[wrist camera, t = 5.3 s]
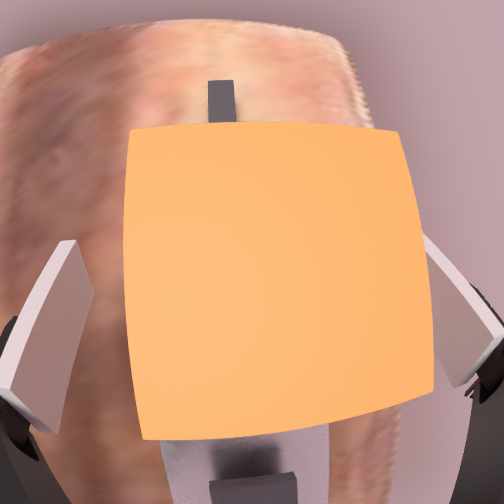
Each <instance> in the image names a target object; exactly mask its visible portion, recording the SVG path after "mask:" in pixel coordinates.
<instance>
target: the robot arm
mask: <svg viewBox="0 0 504 504" xmlns="http://www.w3.org/2000/svg"><path fill="white" fill-rule="evenodd" d="M422 234H423V240H424V246H425V252H426V259H427V267H428V275H429V284H430V294H431V305H432V320H433V344H434V353H435V355H436V357H437V359H438V361H439V362H440V364H441V366H442V367H443V369H444V371H445V373H446V375H447V376H448V378H449V380H450V382H451V384H452V386H453V388H456V387H458V386H461V385H463V384H465V383H467V382H468V381H469V380H470V379H471V378H472V377H473V375H474V374H475V373H477V375H478V377H479V378H478V379H477V380H476V381H475V382H474V383H473V384H472V385H471V387H470V388H469V389H468V390H467V391H466V393H465V395H464V396H466V397H467V395H469V394H470V393H471V391H472V390H474V393H473V394H472V395H471V396H470V398H472V399H473V403H472V410H471V417H470V423H469V429H468V434H467V440H466V445H465V449H464V453H463V458H462V462H461V466H460V470H459V473H458V477H457V481H456V484H455V487H454V491H453V494H452V497H451V500H450V503H449V504H504V322H503V321H502V320H501V318H500V317H499V316H498V314H497V313H496V312H495V310H494V309H493V308H492V307H490V304H489V303H488V302H487V300H485V298H484V297H483V295H482V294H481V293H480V292H479V291H478V289H477V288H475V287H474V286H473V285H471V284H470V283H469V282H467V280H466V279H465V278H464V277H463V276H462V275H461V273H460V272H459V271H458V270H457V269H456V268H455V267H454V266H453V264H452V263H451V262H450V261H449V260H448V259H447V258H446V257H445V256H444V254H442V252H441V251H440V250H439V249H438V248H437V247H436V246H435V245H434V244H433V243H432V242H431V241H430V240H429V239H428V237H427V236H426V235H425V234H424V233H423V232H422ZM94 295H95V292H94V289H93V287H92V284H91V281H90V279H89V276H88V273H87V270H86V267H85V264H84V262H83V259H82V256H81V252H80V249H79V246H78V243H77V240H68V241H60V243H59V244H58V246H57V248H56V249H55V251H54V252H53V254H52V256H51V257H50V259H49V261H48V262H47V264H46V266H45V268H44V269H43V271H42V273H41V275H40V276H39V278H38V280H37V282H36V284H35V285H34V287H33V289H32V291H31V293H30V295H29V297H28V299H27V301H26V303H25V305H24V307H23V309H22V311H21V313H20V315H19V316H14V317H13V318H12V319H11V320H10V321H9V323H8V324H7V325H6V326H5V328H4V330H3V332H2V334H1V336H0V504H71V502H70V501H69V499H68V498H67V496H66V495H65V493H64V492H63V490H62V488H61V487H60V485H59V484H58V482H57V480H56V478H55V477H54V475H53V473H52V472H51V470H50V468H49V466H48V464H47V463H46V461H45V459H44V457H43V455H42V453H41V451H40V449H39V447H38V445H37V443H36V441H35V439H34V437H33V435H32V434H31V433H30V431H29V427H30V424H31V425H33V426H34V427H35V428H36V429H37V430H39V431H40V432H45V433H50V434H55V435H58V433H59V427H60V422H61V416H62V411H63V406H64V401H65V397H66V392H67V388H68V384H69V379H70V375H71V371H72V367H73V364H74V360H75V356H76V352H77V349H78V345H79V342H80V338H81V335H82V332H83V328H84V325H85V322H86V319H87V316H88V313H89V310H90V307H91V304H92V301H93V298H94Z"/></svg>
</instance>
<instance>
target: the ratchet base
mask: <svg viewBox="0 0 504 504" xmlns="http://www.w3.org/2000/svg"><path fill="white" fill-rule="evenodd" d="M159 443H160V448H161V453H162V458H163V462H164V467H165V471H166V475H167V480H168V484H169V488H170V492H171V495H172V499H173V503H174V504H328V503H329V423H326V424H322V425H317V426H312V427H307V428H301V429H296V430H290V431H284V432H277V433H270V434H262V435H254V436H245V437H234V438H221V439H204V440H159Z"/></svg>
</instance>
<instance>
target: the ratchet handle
mask: <svg viewBox="0 0 504 504" xmlns="http://www.w3.org/2000/svg"><path fill="white" fill-rule="evenodd" d="M208 116H209V123H199V124H184V125H171V126H160V127H151V128H142V129H134V130H130V136H129V145H128V156H127V167H126V181H125V200H124V237H123V254H124V291H125V309H126V323H127V335H128V346H129V355H130V364H131V372H132V379H133V386H134V393H135V399H136V405H137V411H138V417H139V422H140V428H141V433H142V438H143V440H204V439H221V438H234V437H245V436H254V435H262V434H270V433H277V432H284V431H290V430H296V429H301V428H307V427H312V426H317V425H322V424H326V423H331V422H335V421H340V420H344V419H348V418H352V417H356V416H359V415H363V414H367V413H370V412H374V411H377V410H381V409H384V408H387V407H390V406H393V405H396V404H399V403H402V402H405V401H408V400H411V399H414V398H417V397H419V396H422V395H425V394H427V393H430V392H433V377H434V344H433V320H432V305H431V294H430V284H429V275H428V267H427V259H426V252H425V246H424V240H423V234H422V228H421V223H420V217H419V212H418V208H417V203H416V199H415V194H414V189H413V186H412V182H411V177H410V173H409V169H408V166H407V162H406V158H405V155H404V151H403V148H402V144H401V141H400V138H399V135H398V132H394V131H386V130H379V129H371V128H362V127H352V126H342V125H329V124H314V123H293V122H236V111H235V97H234V84H233V80H215V81H208Z"/></svg>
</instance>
